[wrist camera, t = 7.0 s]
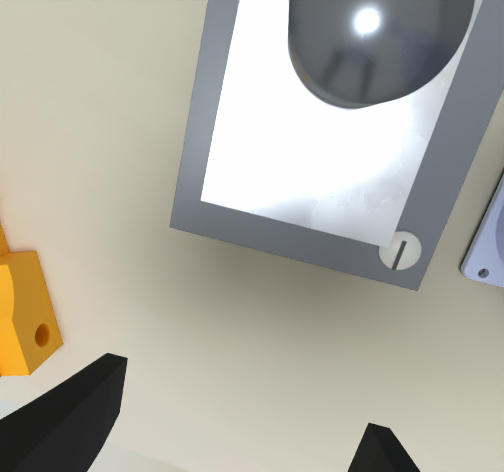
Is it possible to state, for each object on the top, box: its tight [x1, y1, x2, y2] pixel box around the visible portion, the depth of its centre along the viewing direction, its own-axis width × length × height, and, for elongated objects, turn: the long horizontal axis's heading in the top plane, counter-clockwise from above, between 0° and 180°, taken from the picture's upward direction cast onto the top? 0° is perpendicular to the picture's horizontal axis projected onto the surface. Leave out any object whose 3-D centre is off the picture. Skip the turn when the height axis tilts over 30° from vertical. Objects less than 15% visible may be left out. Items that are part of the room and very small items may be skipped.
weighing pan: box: [201, 0, 483, 248], centre depth 13 cm, size 8×13×1 cm, turn 167°
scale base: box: [170, 0, 504, 291], centre depth 15 cm, size 12×15×3 cm
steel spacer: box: [286, 0, 475, 113], centre depth 10 cm, size 4×4×5 cm
